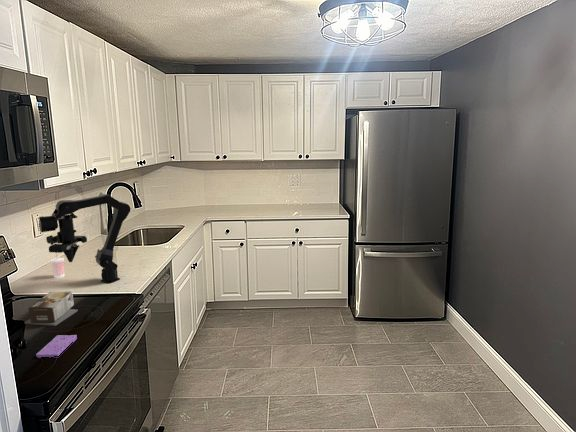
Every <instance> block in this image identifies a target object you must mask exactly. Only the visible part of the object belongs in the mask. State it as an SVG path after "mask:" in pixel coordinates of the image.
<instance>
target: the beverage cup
mask: <svg viewBox="0 0 576 432" xmlns="http://www.w3.org/2000/svg"><path fill="white" fill-rule="evenodd" d="M50 263H51V268H52V273H53V277H54V279H60V278H64V277H65V275H66V274H65V273H66V272H65V258H64V257H59V256H58V253H55V257H54V258H51V259H50Z"/></svg>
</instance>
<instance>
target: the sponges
mask: <svg viewBox="0 0 576 432" xmlns="http://www.w3.org/2000/svg"><path fill="white" fill-rule="evenodd" d="M77 339H78V337H77V334H70V335H66V334H65V335H58V334H57V335H56V336H55V337H53V339H52V340H50V342H48V343H47V344H46V345H45V346H44V347H42V349H41V350H39V351H38V352H37V353H36V355H35V356H36V357H37V358H38V359H42V358H41V357H49V358H51V357H53V358H55V357H54V356H59V355H60V354H61V353H62V352H63V351H64V350H65V349H66V348H67V347H68V346H69V345H70V344H71V343H72V342H73V343H74V342H75V341H77ZM73 343H72V344H73ZM72 344H71V345H72ZM71 345H70V346H71ZM70 346H69V347H70ZM69 347H68V348H69ZM68 348H67V349H68ZM67 349H66V350H67ZM66 350H65V351H66ZM65 351H64V352H65ZM64 352H63V353H64ZM63 353H62V354H63ZM62 354H61V355H62ZM61 355H60V356H61ZM60 356H59V357H60Z"/></svg>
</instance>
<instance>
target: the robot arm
mask: <svg viewBox="0 0 576 432" xmlns="http://www.w3.org/2000/svg"><path fill="white" fill-rule="evenodd" d="M106 204H107V205H108V206H110V207H112V208H113V209H112V210H113V212H112V217H113V218H112V221H111V225H110V228H109V230H108V233H107V235H106V239H105V241H104V245H103V247H101V249H99V248H98V249H97V250H96V255H95V256H94V257H95V262H96V264H97V265H99V266H100V267H101V268H102V269H101V274H100V275H101V280H100V282H102V283H107V284H111V283H114V282H117V281H119V280H121V278H120V277H119V275H118V266H119V265H118V264H117V263H116V262H114V261H113V260H114V249H115V245H116V244H117V243H116V242H117V239H118V236H119V234H120V232H121V227H122V225H123V222H124V221H125V220H126V219H127V218H128V216H129V214H130V213H131V207H130V205H129V204H128V203H126V202H123V201H119V200H117V199H116V198H114V197H113V196H112V195H110V194H105V193H104V194H102V195H98V196H92V197H87V198H83V199H67V200H66V199H65V200H59V201H57V203H56V205H55V209H54V211H53V212H52V214H51V215H48V216H47V215H45V216H44V215H43V216H38V228H39V232H40V233H46V232H47V233H48V232H54V231H56V230H57V229H58V228H59V231H57V234H56V235H54V236H53V235H52V234H51V235H47V236H46V243H47V244H50V246H49V247H48V253H55V254H56V253H57V254H58V253H63V254H64V255H65V257H66V260H67V261H68V262H69V263H72V262H73V261H74V258H75V257H76V253H77V251H78V249H79V248H80V245H78V243H79V242H81V243H82V244H84V243H87V242H88V238H87V236H86V235H76V234H75V233H77V229H75V226H74V220H73V219H78V215H75V214H74V213H76V212H77V211H79V210H83V209H86V208H90V207H96V206H101V205H106Z"/></svg>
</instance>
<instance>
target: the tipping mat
mask: <svg viewBox="0 0 576 432" xmlns="http://www.w3.org/2000/svg"><path fill="white" fill-rule="evenodd" d="M77 312H78V309H73V308H70V309H69V310H68V311H66V312H65V313H64V314H63V315H62V316H61V317H60V318H59V319H57V320H56V321H55V322H51V323H31V319H30V318H29V319H28V320H26V321H24V324H26V325H37V326H39V325H40V326H53V327H54V326H55V327H56V326H57V325H59V324H61V323H62V322H64V321H65V320H67V319H68V318H70V317H72V315H74V314H76V313H77Z"/></svg>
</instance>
